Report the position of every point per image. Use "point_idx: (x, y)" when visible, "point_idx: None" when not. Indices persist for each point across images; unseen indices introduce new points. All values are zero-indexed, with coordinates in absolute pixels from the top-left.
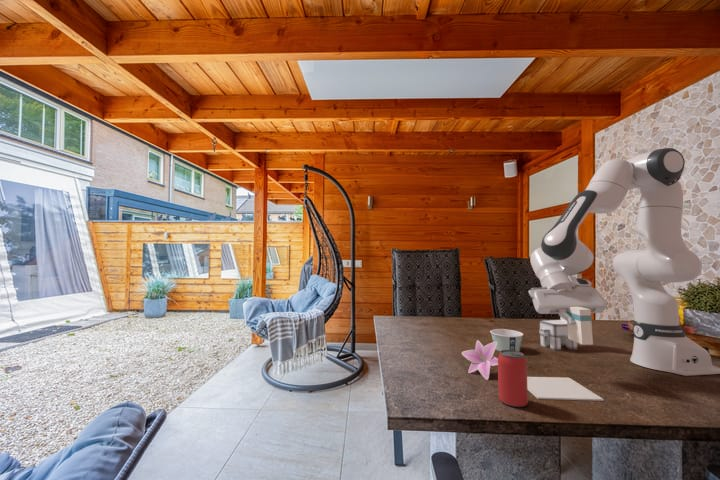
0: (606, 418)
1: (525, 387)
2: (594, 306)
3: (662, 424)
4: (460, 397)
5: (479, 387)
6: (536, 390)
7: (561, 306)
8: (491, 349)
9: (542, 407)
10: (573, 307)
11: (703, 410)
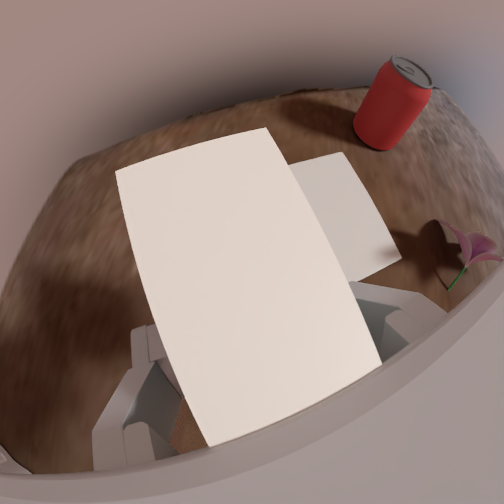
0: (231, 119)
1: (364, 98)
2: (13, 475)
3: (145, 134)
4: (431, 134)
5: (431, 176)
6: (348, 184)
7: (466, 307)
8: (480, 237)
9: (330, 126)
10: (331, 325)
11: (38, 231)
